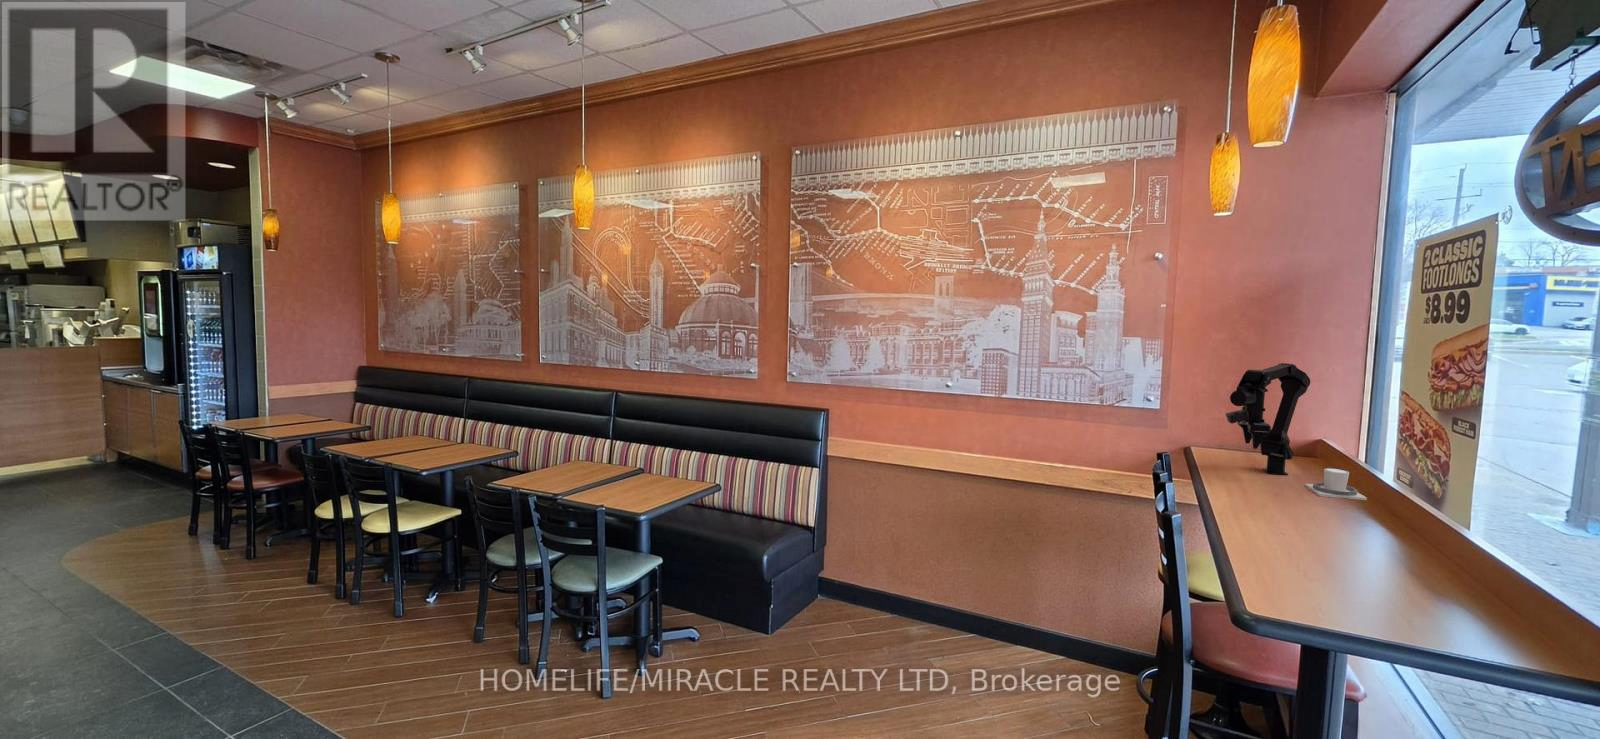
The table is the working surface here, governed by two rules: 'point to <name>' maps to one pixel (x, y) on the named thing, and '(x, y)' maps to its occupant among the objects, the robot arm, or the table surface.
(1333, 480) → the white cup
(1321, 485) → the coaster
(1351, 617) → the table surface
